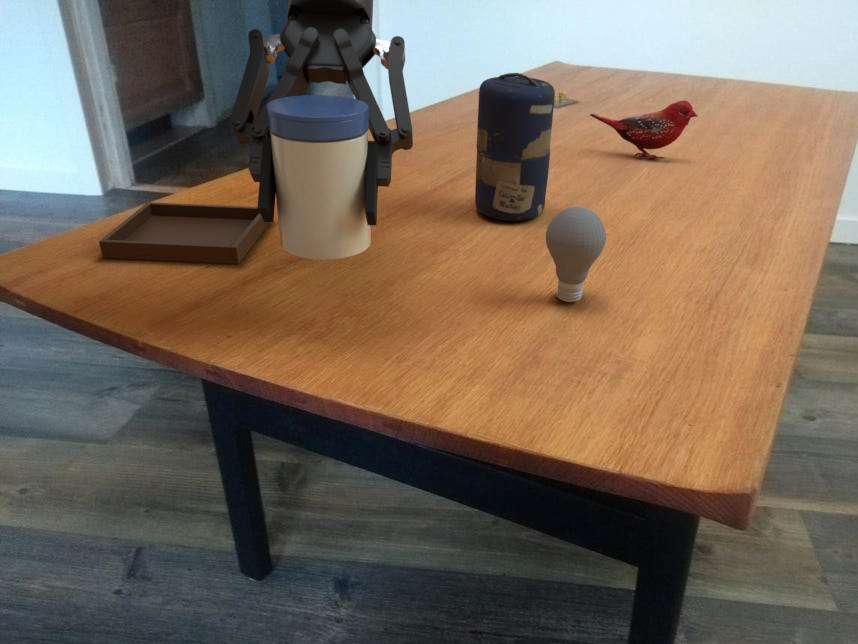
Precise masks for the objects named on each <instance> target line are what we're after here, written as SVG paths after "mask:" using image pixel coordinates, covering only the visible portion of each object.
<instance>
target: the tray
mask: <svg viewBox="0 0 858 644" xmlns="http://www.w3.org/2000/svg"><path fill="white" fill-rule="evenodd" d="M270 224H271V222H264V220H263V218H262V216H261V214H260V212H259V210H258V206H242V205H241V206H240V205H220V204H219V205H218V204H199V203H198V204H197V203H177V202H175V203H172V202H153V201H152V202H149V201H147V202H145V203H144V204H143V205H142V206H141V207H139V208H138V209H137V210H136V211H134V213H132V214H131V215H130V216H128V217H127V218H126V219H125V220H124V221H122V222H121V223H119V224H118V225H117V226H116V227H115V228H113V229H112V230H111V231H109V232H108V233H107V234H106V235H105V236H103V237H102V238H101V239H100V240H98V243H99V248H100V252H101V256H102V258H103V259H113V260H114V259H116V260H139V261H163V262H186V263H204V264H205V263H207V264H227V265H228V264H229V265H240V263H241V261H242V260H243V259H244V258H245V256H246V255H247V253H248V252H249V251H250V250H251V249H252V247H253V246H254V244H255V243H256V242H257V240H258V239H259V238H260V237H261V236H262V234H263V233H264V231H266V228H267V227H268V225H270Z"/></svg>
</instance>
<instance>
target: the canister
mask: <svg viewBox="0 0 858 644" xmlns="http://www.w3.org/2000/svg"><path fill="white" fill-rule="evenodd" d="M478 89H479V90H478V105H477V106H478V108H477V127H476V128H477V129H476V163H475V190H474V204H475V207H476V209H477V210H478V212H480V213H481V214H482V215H484V216H486V217H488V218H491V219H493V220H494V219H495V220H500V221H506V222H507V221H510V222H515V221H526V220H530V219H534V218H536V217H538V216H539V215H541V214H542V212H544V209H545V207H546V195H547V188H548V179H549V172H550V171H549V170H550V157H551V140H552V129H553V119H554V118H553V117H554V107H555V106H554V100H555V97H556V90H555V88H554V86H553V85H552V84H551V83H550V82H548V81H545V80H542V79H538V78H534V77H529V76H527V75H525V74H523V73H519V72H508V73H503V74H500V75H499V76H494V77H490V78H487V79H485V80H483V81H482V82H481V84H480V86H479V88H478ZM554 90H555V91H554Z"/></svg>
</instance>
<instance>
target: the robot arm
mask: <svg viewBox="0 0 858 644" xmlns="http://www.w3.org/2000/svg"><path fill="white" fill-rule="evenodd" d="M286 15H287V17H286V21H285V22H286V23H285V25H284V26H283V27H282V29H281V31H280V33H277V34H267V35H266V34H265V35H263V33H262V31H261V30H259V29H250V31H249V32H248V34H247V35H248V36H247V37H248V45H249V54H248V58H247V62H246V65H245V67H244V68H245V69H244V72H243V75H242V80H241V82H240V85H239V89H238V92H237V95H236V99H235V102H234V105H233V108H232V112H231V115H230V119H229V126H230V129H231V131H232V133H233V135H234V137H235V139H236V141H237V143H238V144H241V145H246V144H247V145H250V147H249V148H250V149H249V159H248V171H249V173H250V176H251V178H252V181H253V182H254V183H259V184H258V185H259V186H258V194H257V195H258V197H257V207H258V210H259V212H260V214H261V216H262V218H263V220H264V222H270V223H274V222H275V221H274V220H275V219H274V218H275V207H276V190H275V180H274V169H273V158H272V148H271V137H270V130H269V128H268V118H267V108H266V106H267V104H268V103H269V102H271V101H273V100H276V99H279V98H284V97H291V96H301V95H302V94H304V93H307V91H308V89H309V87H310V85H311V84H312V83H313V84H320V83H321V84H322V83H327V82H329V83H330V82H331V83H334V84H338V85H339V84H340V85H348V87H349V89H350V91H351V94H352V95H353V96H354V99H356V100H360V101H362V102H364V103H366V104H367V105H368V114H369V129H368V131H369V132H370V134H371V137H372V140H368V155H367V178H366V200H365V214H366V219H367V224H368V225H370V226H377V219H378V217H377V216H378V197H379V196H378V195H379V190H378V189H379V187H383V188H384V187H387V188H388V187H390V186H391V185H390V184H391V182H392V167H393V166H392V164H393V160H392V159H393V155H394V153H395V152H396V151H399V150H404V151H408V150H411V149H413V145H414V136H413V124H412V119H411V112H410V106H409V101H408V94H407V89H406V84H405V83H406V81H405V77H404V68H405V64H406V45H405V39H404V38H403V37H402V36H400V35H395V36H393V37H391V39H390V40H387V39H386V40H385V39H381V38H377V36H376V34H375V32H374V31H373V18H374V17H373V16H374V0H288V1H287V14H286ZM281 51H284V53H285V54H286V55H287V57H288V60H287V62H286V63H285V70H284V72H283V74H282V76H281V77H280V79H279V80H278V82H277V84H276V85H275V87H274V89H273V90H272V92H271V94H270V95H269V97H268V99H267V100H266V103H265V104H264V106H263V107H262V109H261V111H260V112H259V110H260V106H261V103H262V99H263V96H264V93H265V90H266V86H267V83H268V80H269V76H270V65H273V64H275V60H276V59H277V56H278V53H280V52H281ZM375 56H378V57H379V58H380V64H381V65H382V67H384V69H386V70H387V73H388V84H389V90H390V95H391V102H392V107H393V113H394V120H395V127H396V128H393V129H391V128H390V127H389V126H388V124H387V122H386V119H385V117H384V114H383V112H382V111H381V108H380V105H379V104H378V101H377V100H376V97H375V95H374V93H373V91H372V88H371V86H370V84H369V82H368V79H367V77H366V75H365V73H364V68H365V67H366V65H368V63H369V62H370V61H371V60H372V59H373V58H374V57H375Z"/></svg>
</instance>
